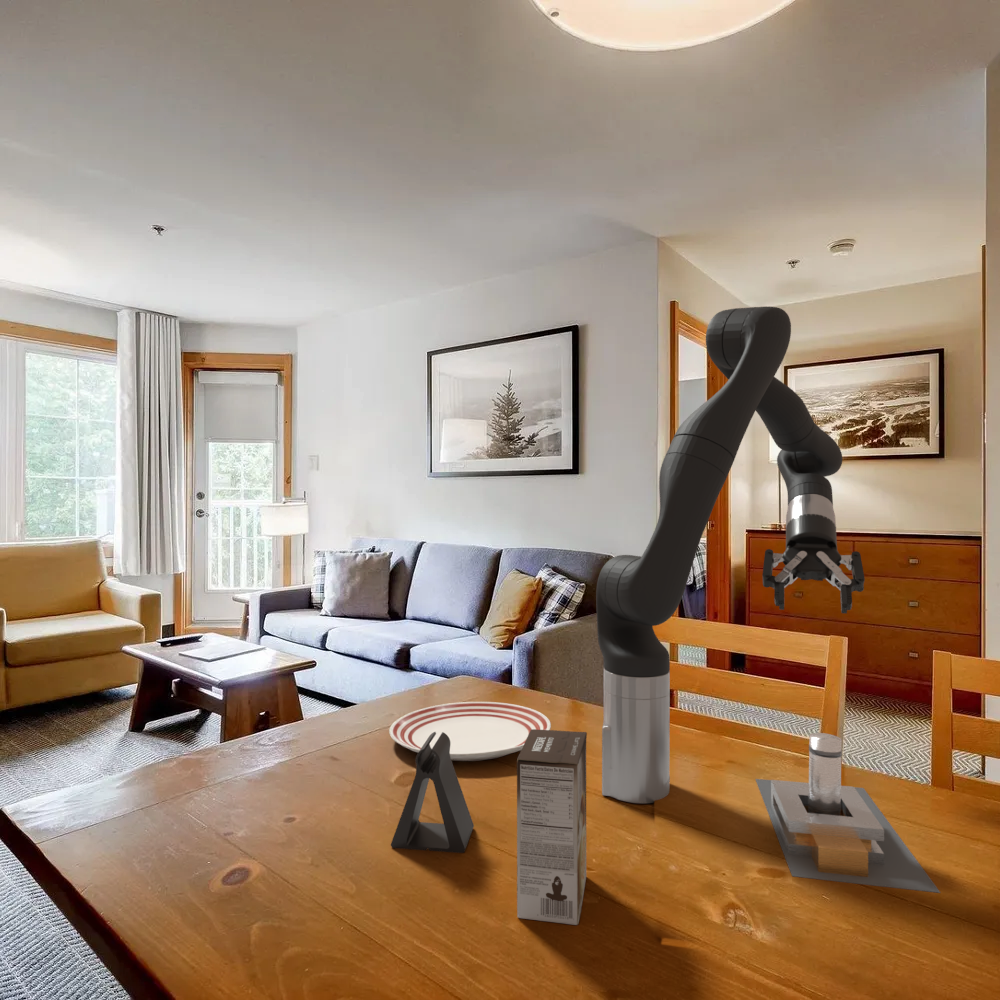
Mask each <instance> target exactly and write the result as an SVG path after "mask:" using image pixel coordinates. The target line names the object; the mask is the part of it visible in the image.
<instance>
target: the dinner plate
mask: <svg viewBox="0 0 1000 1000" xmlns="http://www.w3.org/2000/svg"><path fill="white" fill-rule="evenodd" d="M551 726H552V723H551V721H550V718H548V717H547V716H546V715H545V714H543V713H542V712H540V711H538V710H536V709H533V708H530V707H527V706H522V705H519V704H513V703H506V702H495V701H464V702H463V701H462V702H461V701H460V702H459V701H458V702H451V703H442V704H436V705H431V706H427V707H423V708H420V709H416V710H414V711H410V712H409V713H406V714H405V715H403V716H401V717H399V718H397V719H396V720H395V721H394V722H392V724H391V725H390V727H389V730H388V732H389V735H390V737H391V739H392V740H393V741H394V742H395V743H397V744H398V745H400V746H402V747H403V748H406V749H408V750H409V751H412V752H415V753H417V754H418V752H419V751H420V749H421V748H422V746H423V745H424V743H425V742H426V740H427V739H428V737H429V736H430V735H431V734H432V733H433V732H436V735H435V736H434V738H433V739H432V741H431V742H430V747H431V749H432V748H433V746H434V745H435V743H436V742H437V740H438V738H439V737H440V735H441V734H442V732H443V733H445V734H446V735H447V736H448V737H449V739H450V758H451V761H457V762H476V761H486V760H492V759H497V758H501V757H504V756H508V755H510V754H513V753H517V752H521V750H522V748H523V746H524V744H525V741H526V739H527V737H528V735H529V733H530V731H531V730H532V729H536V730H551V729H552V727H551Z"/></svg>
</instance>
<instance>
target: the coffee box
mask: <svg viewBox="0 0 1000 1000" xmlns="http://www.w3.org/2000/svg"><path fill="white" fill-rule="evenodd" d="M587 735H588V733H587V732H586V731H567V730H554V729H550V730H536V729H532V730H531V731H530V733H529V735H528V737H527V739H526V741H525V744H524V746H523V748H522V750H520V751H519V754H518V756H517V758H516V759H517V760H516V869H517V870H516V877H517V878H516V910H517V911H516V913H517V914H516V916H517V918H519V919H524V920H525V919H526V920H534V921H539V922H549V923H557V924H565V925H573V926H578V925H579V922H580V918H581V913H582V906H583V899H584V895H585V894H584V893H585V887H586V882H587V881H586V880H587Z"/></svg>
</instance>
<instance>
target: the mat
mask: <svg viewBox="0 0 1000 1000" xmlns="http://www.w3.org/2000/svg"><path fill="white" fill-rule="evenodd" d="M771 780H772V779H762V778H761V779H760V778H755V782H756V785H757V787H758V790H759V793H760V796H761V798H762V801H763V803H764V806H765V808H766V812H767V814H768V816H769V819H770V821H771V824H772V827H773V829H774V832H775V834H776V837H777V841H778V842H779V845H780V848H781V851H782V853H783V856H784V858H785V861H786V863H787V866H788V869H789V872H790V875H791V877H794V878H805V879H812V880H821V881H832V882H838V883H847V884H857V885H864V886H865V885H866V886H875V887H883V888H892V889H893V888H894V889H901V890H910V891H918V892H920V891H921V892H929V893H937V894H941V891H940V889H938V887H937V886H936V884H935V883H934V881H932V879H931V878H930V876H929V875H928V874H927V872H926V871H925V869H924V868H923V866H921V864H920V863H919V861H918V859H916V857H915V856H914V855H913V853H912V852H911V851H910V849H909V847H908V846H907V845H906V844H905V843H904V840H902V838H901V837H900V835H899V834H898V833H897V832H896V830H895V829H894V827H893V826H892V824H891V823H890V821H889V820H888V819H887V818H886V816H885V815H884V814H883V812H882V811H881V810H880V808H879V807H878V806H877V804H876V803H875V802H874V800H873V799H872V798H871V796H870V795H869V793H868V792H867V791H866V789H865V788H864V787H856V786H855V787H854V786H853V787H854V788H855V789H856V791H857V792H858V793H859V795H860V796H861V798H862V799H863V800H864V802H865V803H866V805H867V806H868V808H869V809H870V810H871V812H872V813H873V815H874V816H875V817H876V819H877V820H878V822H879V823H880V825H881V826H882V827H883V829H884V841H877V840H875V841H876V842H877V844H878V845H879V847H880V848H881V850H882V851H883V853H884V865H877V864H868V877H862V876H852V875H843V874H834V873H825V872H818V870H817V867H816V865H815V863H814V861H813V859H812V858H811V857H802V856H792V855H788V852H787V849H786V847H785V844H784V842H783V839H782V837H781V834H780V832H779V829H778V826H777V824H776V821H775V819H774V816H773V814H772V811H771Z"/></svg>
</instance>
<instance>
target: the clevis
mask: <svg viewBox="0 0 1000 1000" xmlns="http://www.w3.org/2000/svg"><path fill="white" fill-rule="evenodd" d="M770 780H771V811H772V814H773V816H774V819H775V821H776V824H777V826H778V829H779V832H780V834H781V837H782V839H783V842H784V844H785V847H786V849H787V852H788V855H792V856H802V857H811V858H812V859H813V861H814V863H815V865H816V867H817V870H818V872H825V873H834V874H843V875H852V876H862V877H868V864H877V865H884V853H883V851H882V850H881V848H880V847H879V845H878V844H877V842H876V841H875V840H877V841H884V829H883V827H882V826H881V825H880V823H879V822H878V820H877V819H876V817H875V816H874V815H873V813H872V812H871V810H870V809H869V808H868V806H867V805H866V803H865V802H864V800H863V799H862V798H861V796H860V795H859V793H858V792H857V791H856V789H855V788H854V786H851V785H850V786H849V785H841V807H840V816H836V815H826V814H815V813H808V800H809V782H802V781H801V782H800V781H792V780H791V781H790V780H779V779H770Z"/></svg>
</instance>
